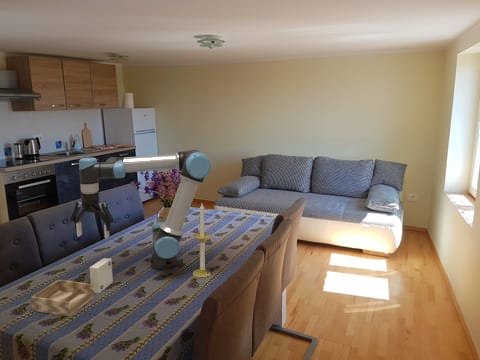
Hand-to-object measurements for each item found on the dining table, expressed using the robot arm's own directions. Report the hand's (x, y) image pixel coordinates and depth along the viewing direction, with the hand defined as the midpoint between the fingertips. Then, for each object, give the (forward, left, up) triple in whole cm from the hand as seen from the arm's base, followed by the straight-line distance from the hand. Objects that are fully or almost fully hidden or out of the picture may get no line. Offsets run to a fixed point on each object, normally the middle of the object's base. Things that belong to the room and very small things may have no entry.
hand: (93, 236), depth 170 cm
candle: (-46, -22, -24) cm, 56 cm away
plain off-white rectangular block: (-5, +3, -23) cm, 24 cm away
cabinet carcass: (+2, +20, -23) cm, 31 cm away
